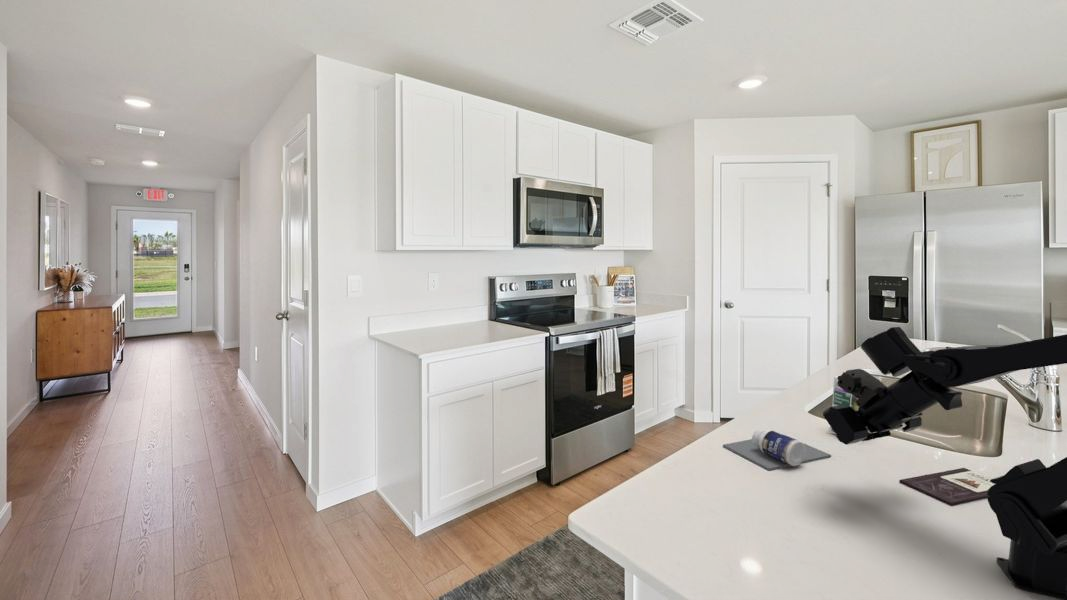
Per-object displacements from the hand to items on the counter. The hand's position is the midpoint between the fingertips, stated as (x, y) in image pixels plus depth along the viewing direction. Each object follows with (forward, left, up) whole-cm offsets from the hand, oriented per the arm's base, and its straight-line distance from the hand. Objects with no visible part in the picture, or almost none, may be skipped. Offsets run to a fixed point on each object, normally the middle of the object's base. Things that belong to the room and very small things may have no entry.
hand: (839, 439), depth 90 cm
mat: (+12, +10, -9) cm, 19 cm away
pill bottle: (+5, +6, -6) cm, 10 cm away
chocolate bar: (+10, -21, -10) cm, 25 cm away
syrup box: (+31, -6, -9) cm, 33 cm away
